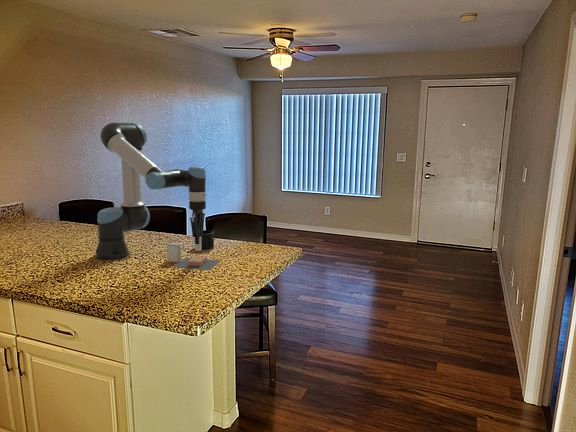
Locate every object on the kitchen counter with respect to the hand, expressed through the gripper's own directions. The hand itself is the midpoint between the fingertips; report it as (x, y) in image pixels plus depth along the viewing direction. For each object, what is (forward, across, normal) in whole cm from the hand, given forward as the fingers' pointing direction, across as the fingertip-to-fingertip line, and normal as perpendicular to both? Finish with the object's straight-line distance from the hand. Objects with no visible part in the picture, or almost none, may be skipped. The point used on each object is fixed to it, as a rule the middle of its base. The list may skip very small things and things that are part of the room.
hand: (198, 250), depth 211 cm
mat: (+7, -1, 0) cm, 7 cm away
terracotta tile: (+5, +4, 0) cm, 6 cm away
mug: (+7, +27, +6) cm, 28 cm away
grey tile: (+7, 0, +12) cm, 14 cm away
